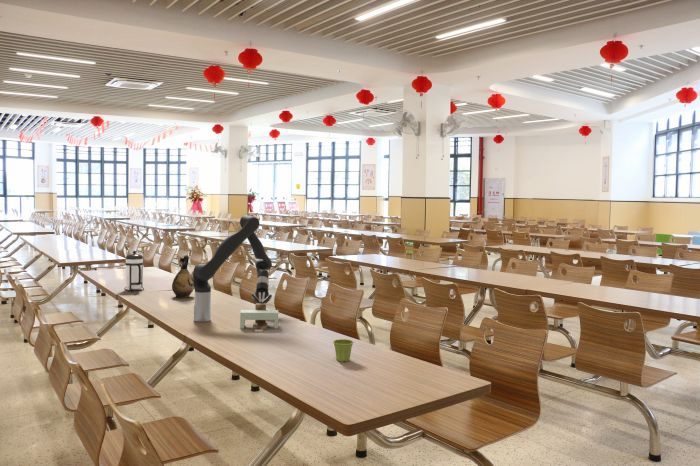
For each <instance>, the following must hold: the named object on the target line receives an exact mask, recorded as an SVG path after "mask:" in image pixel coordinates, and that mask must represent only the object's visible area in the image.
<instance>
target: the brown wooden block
mask: <svg viewBox="0 0 700 466" xmlns="http://www.w3.org/2000/svg"><path fill="white" fill-rule="evenodd" d="M254 307H255V309H254V310H267V303H256V302H255V306H254ZM252 323H253V324H252V331H254V329H257V328H261V329H263V331H267V330H268V322H267V320H254V322H252Z"/></svg>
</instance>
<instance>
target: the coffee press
mask: <svg viewBox="0 0 700 466" xmlns="http://www.w3.org/2000/svg"><path fill="white" fill-rule="evenodd" d="M124 258H125V287H124V290H125V291H126V290H128V292H132V291H133V290H141V291H144V290H145V288H144V287H143V285H144V284H143V282H144V281H143V280H144V279H143V277H144V275H143V274H144V273H143V271H144V270H143V268H144V261H143V260H144V257H143V255H141V254H140V253H137V251H136V250H133V251H132V253H129V254H127V255H125V257H124Z"/></svg>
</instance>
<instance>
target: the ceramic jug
mask: <svg viewBox="0 0 700 466" xmlns="http://www.w3.org/2000/svg"><path fill="white" fill-rule="evenodd" d="M189 259H190V256H189V255H187V254H186V255H184V256H183V257H181V258H180V259H179V263H180V264H181V268H180V269H179V271H178V272H177V273H176V275H175V277H174V278H173V281H172V284H171V289H172V292H173V294H174V295H175V298H178V299H187V297H188V298H189V297H190V295H191V294H192V293H193V292H194V291H195V288H194V285H193V275H191V273H190V271H189V269H188V265H189Z"/></svg>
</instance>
